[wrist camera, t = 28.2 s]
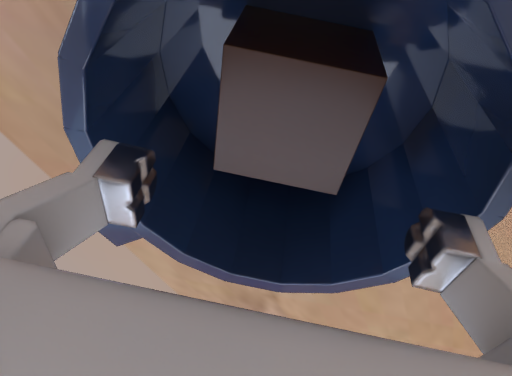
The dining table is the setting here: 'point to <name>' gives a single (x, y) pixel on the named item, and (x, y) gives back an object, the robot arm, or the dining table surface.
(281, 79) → the brownie
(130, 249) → the dining table surface
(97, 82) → the pot
